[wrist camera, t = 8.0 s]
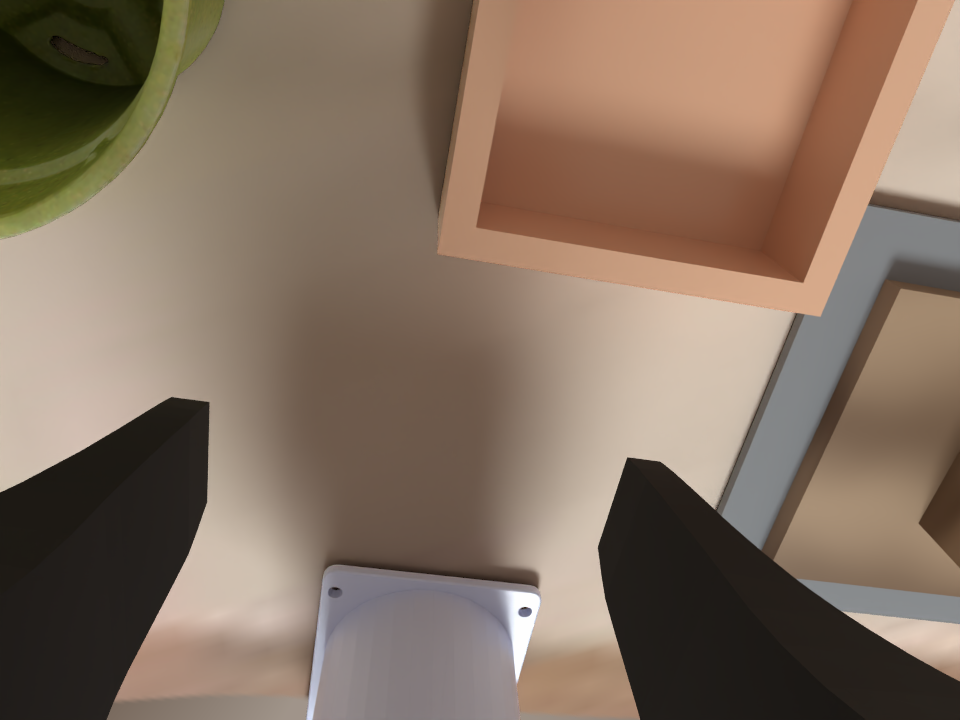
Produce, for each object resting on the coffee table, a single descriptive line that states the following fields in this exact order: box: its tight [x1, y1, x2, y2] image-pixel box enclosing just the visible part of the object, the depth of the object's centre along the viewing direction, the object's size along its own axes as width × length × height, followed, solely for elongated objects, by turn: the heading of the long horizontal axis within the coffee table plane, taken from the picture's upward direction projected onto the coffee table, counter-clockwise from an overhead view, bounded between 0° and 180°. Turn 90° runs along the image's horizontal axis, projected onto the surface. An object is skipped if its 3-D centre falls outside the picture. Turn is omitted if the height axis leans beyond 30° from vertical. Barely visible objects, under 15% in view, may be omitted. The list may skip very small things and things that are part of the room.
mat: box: [717, 204, 960, 624], centre depth 25 cm, size 15×15×1 cm
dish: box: [437, 0, 955, 317], centre depth 17 cm, size 10×10×4 cm
